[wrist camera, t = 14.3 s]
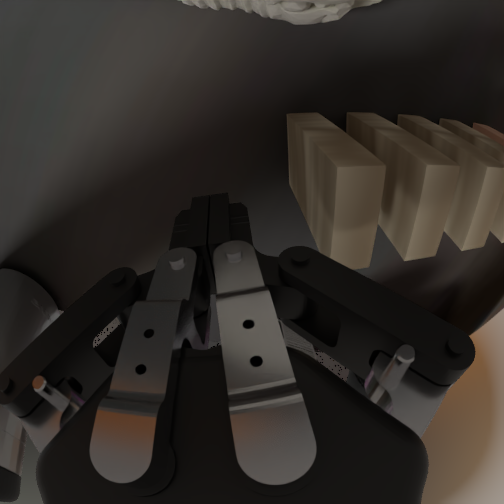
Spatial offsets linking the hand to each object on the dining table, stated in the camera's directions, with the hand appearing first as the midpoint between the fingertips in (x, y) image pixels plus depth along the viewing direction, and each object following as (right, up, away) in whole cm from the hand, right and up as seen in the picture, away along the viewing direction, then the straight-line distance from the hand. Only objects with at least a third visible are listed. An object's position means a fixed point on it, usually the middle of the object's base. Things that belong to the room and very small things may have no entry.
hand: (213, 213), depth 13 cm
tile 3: (+13, +6, +6) cm, 15 cm away
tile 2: (+9, +6, +6) cm, 12 cm away
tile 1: (+5, +5, +6) cm, 9 cm away
